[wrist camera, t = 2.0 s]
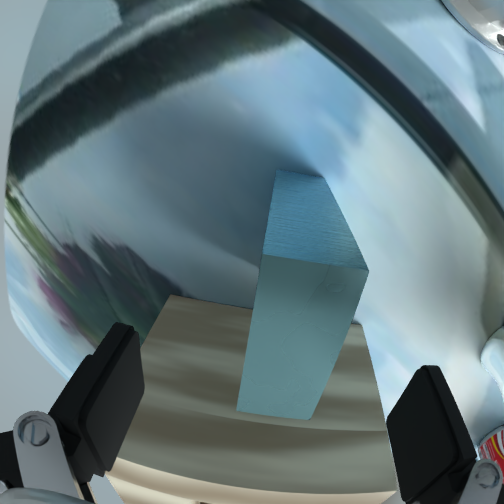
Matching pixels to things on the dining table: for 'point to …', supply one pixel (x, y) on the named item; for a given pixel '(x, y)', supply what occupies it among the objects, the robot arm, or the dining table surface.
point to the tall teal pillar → (300, 299)
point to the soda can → (493, 447)
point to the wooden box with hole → (246, 423)
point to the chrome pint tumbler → (495, 358)
